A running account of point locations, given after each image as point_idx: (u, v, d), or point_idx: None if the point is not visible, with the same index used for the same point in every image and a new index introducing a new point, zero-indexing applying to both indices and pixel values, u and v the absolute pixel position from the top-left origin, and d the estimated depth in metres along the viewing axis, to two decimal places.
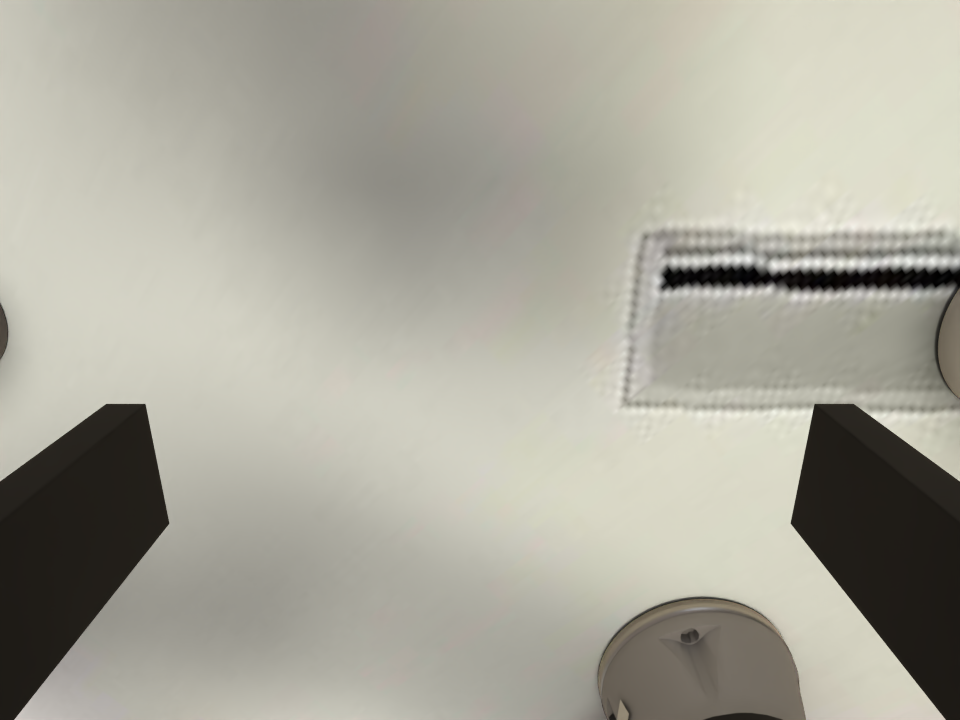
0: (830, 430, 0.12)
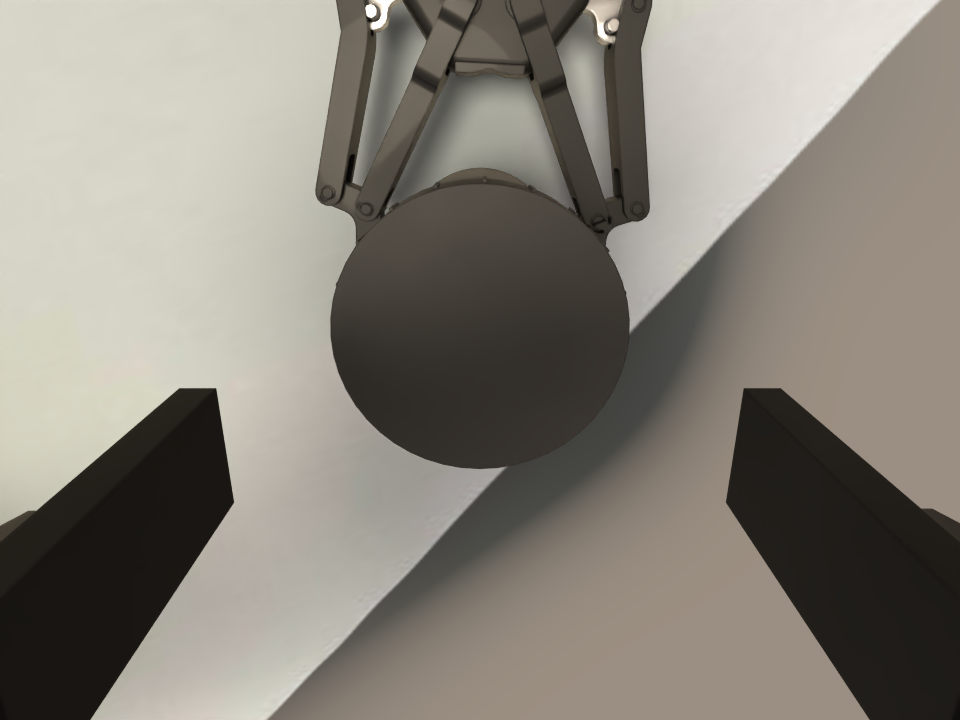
0: (755, 412, 0.12)
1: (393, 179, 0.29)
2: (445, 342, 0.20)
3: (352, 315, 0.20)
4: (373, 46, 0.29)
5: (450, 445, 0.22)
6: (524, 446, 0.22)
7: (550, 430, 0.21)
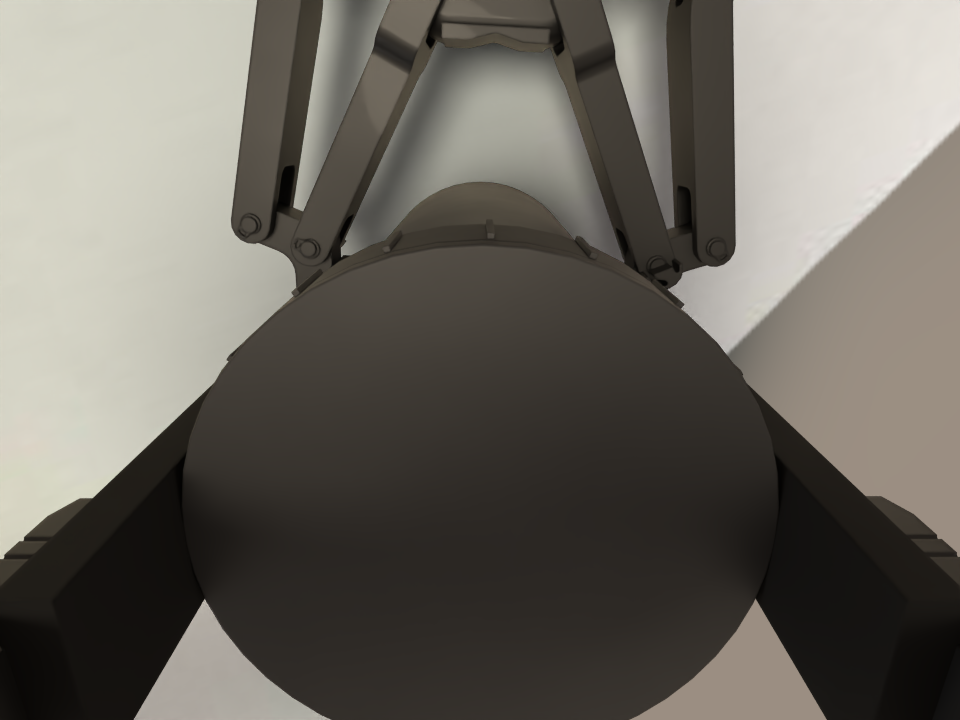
0: None
1: (348, 204, 0.19)
2: (412, 548, 0.10)
3: (224, 501, 0.10)
4: (317, 1, 0.19)
5: (425, 718, 0.12)
6: (563, 719, 0.12)
7: (613, 694, 0.11)
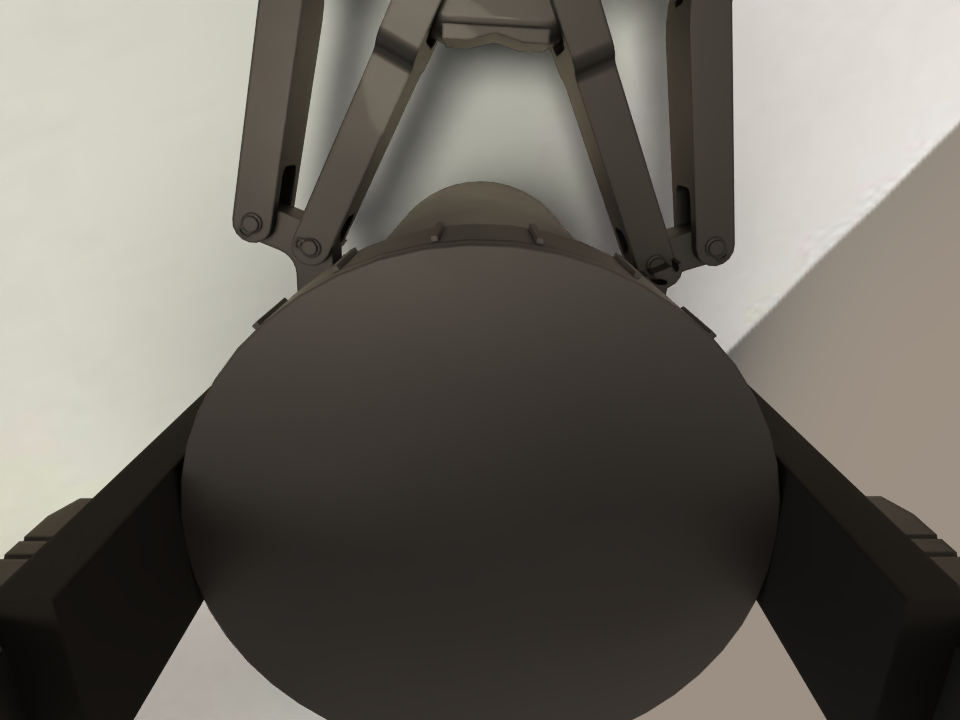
0: None
1: (349, 203, 0.19)
2: (499, 595, 0.11)
3: None
4: (318, 1, 0.19)
5: (723, 559, 0.10)
6: (720, 421, 0.09)
7: (676, 374, 0.09)
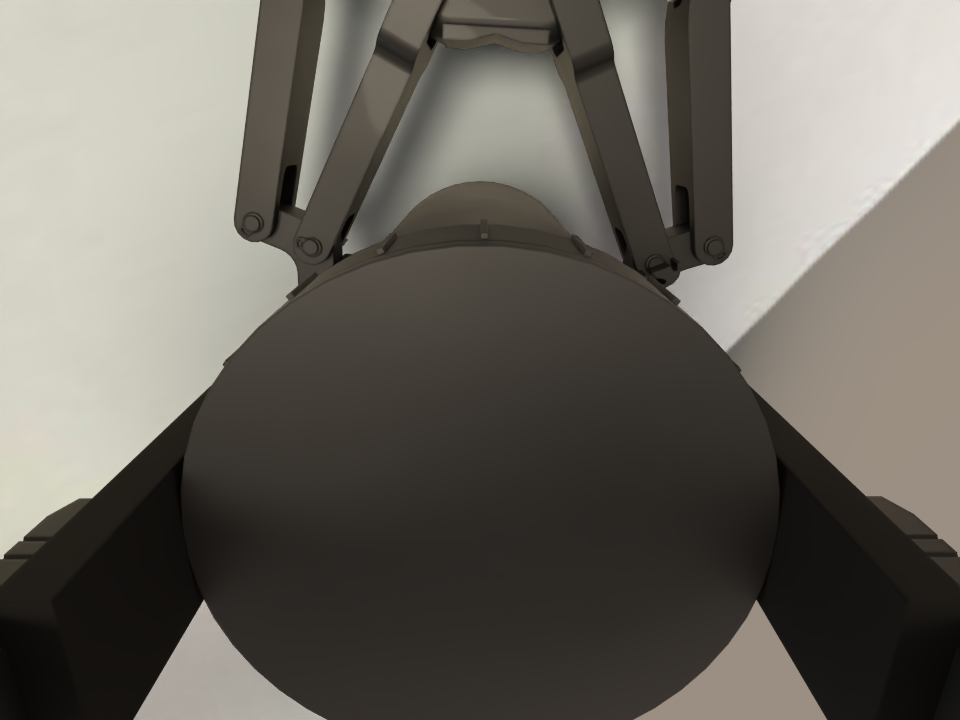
0: None
1: (350, 203, 0.20)
2: (543, 515, 0.10)
3: (737, 510, 0.10)
4: (319, 2, 0.19)
5: (457, 302, 0.09)
6: (291, 356, 0.09)
7: (255, 409, 0.09)
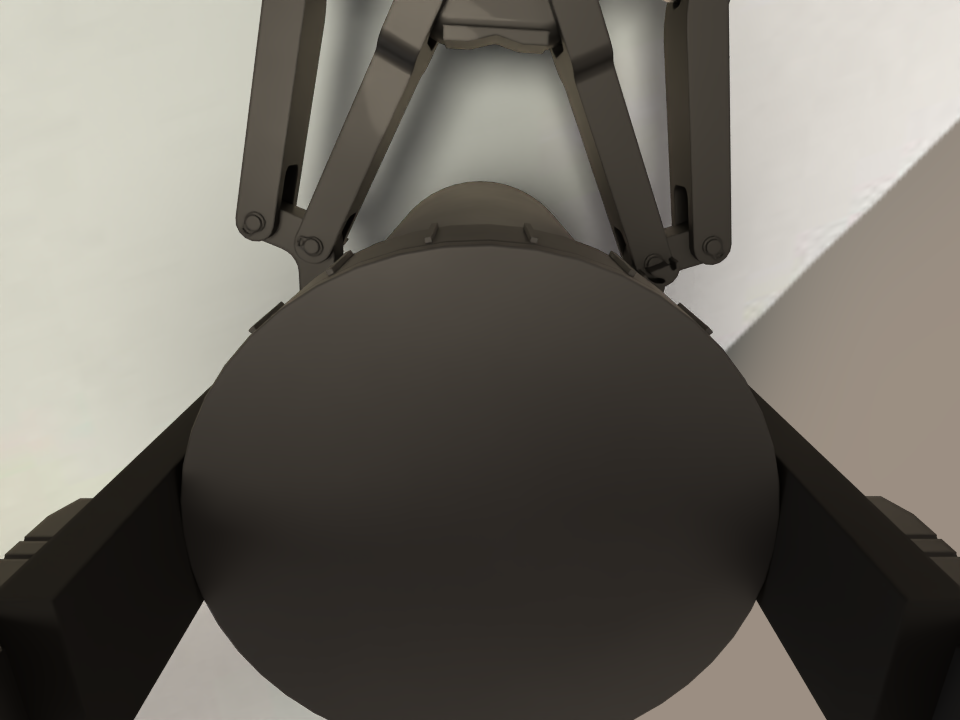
0: None
1: (351, 203, 0.20)
2: (437, 493, 0.10)
3: (389, 308, 0.09)
4: (320, 3, 0.19)
5: (247, 590, 0.11)
6: (329, 692, 0.11)
7: (383, 711, 0.11)
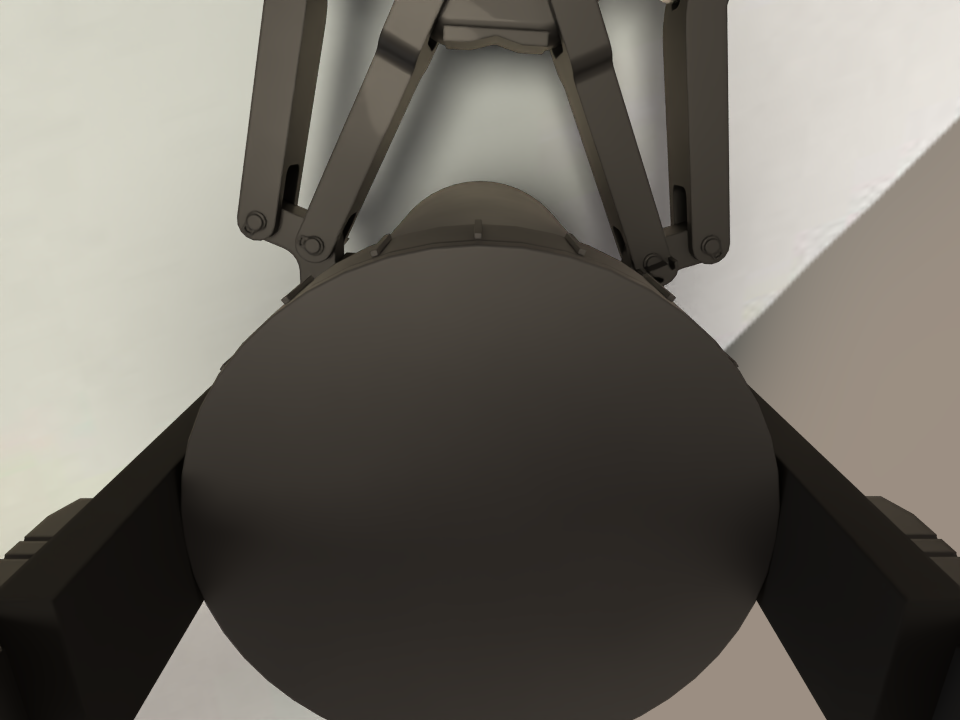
0: None
1: (352, 202, 0.20)
2: (433, 583, 0.10)
3: (268, 635, 0.11)
4: (321, 4, 0.19)
5: (568, 711, 0.11)
6: (688, 645, 0.11)
7: (713, 597, 0.11)
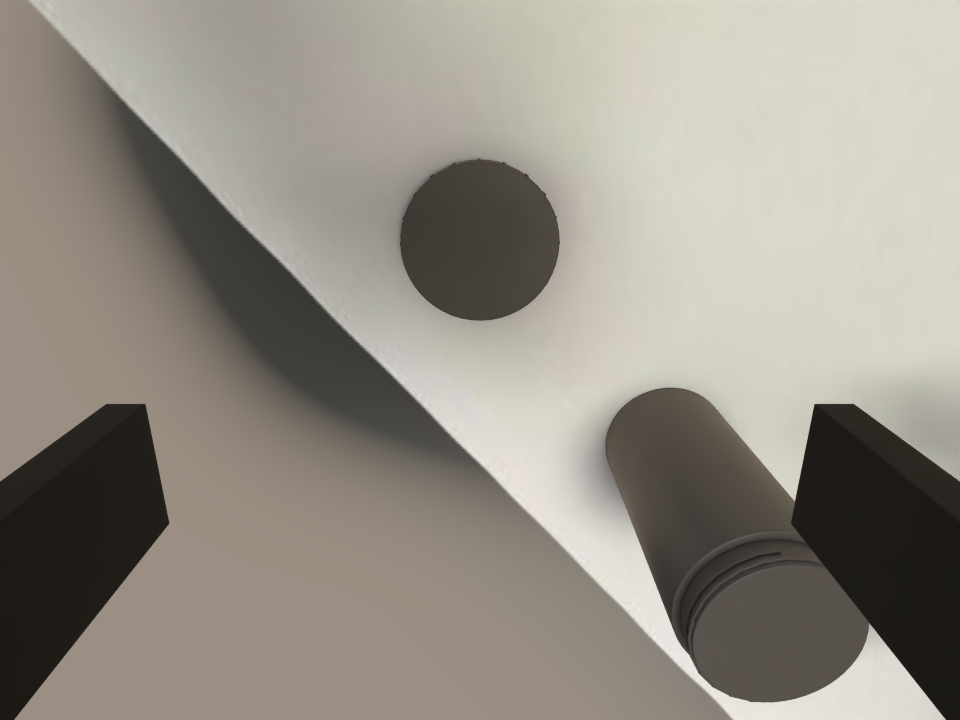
0: (830, 430, 0.12)
1: None
2: (467, 257, 0.38)
3: (420, 275, 0.39)
4: None
5: (505, 303, 0.39)
6: (538, 279, 0.39)
7: (544, 262, 0.38)
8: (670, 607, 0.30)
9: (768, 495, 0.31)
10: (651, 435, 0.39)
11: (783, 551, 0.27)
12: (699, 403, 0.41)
